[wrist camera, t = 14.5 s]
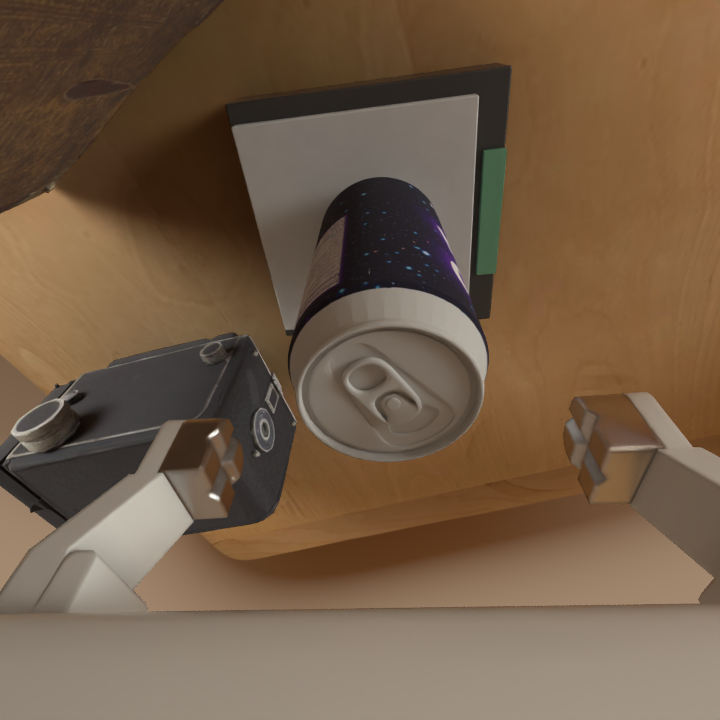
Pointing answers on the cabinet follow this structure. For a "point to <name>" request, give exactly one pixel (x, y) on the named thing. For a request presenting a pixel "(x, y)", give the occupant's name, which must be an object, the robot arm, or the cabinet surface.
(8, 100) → the book
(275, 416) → the camera
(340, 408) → the beverage can
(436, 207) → the scale
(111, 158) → the cabinet surface
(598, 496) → the robot arm
